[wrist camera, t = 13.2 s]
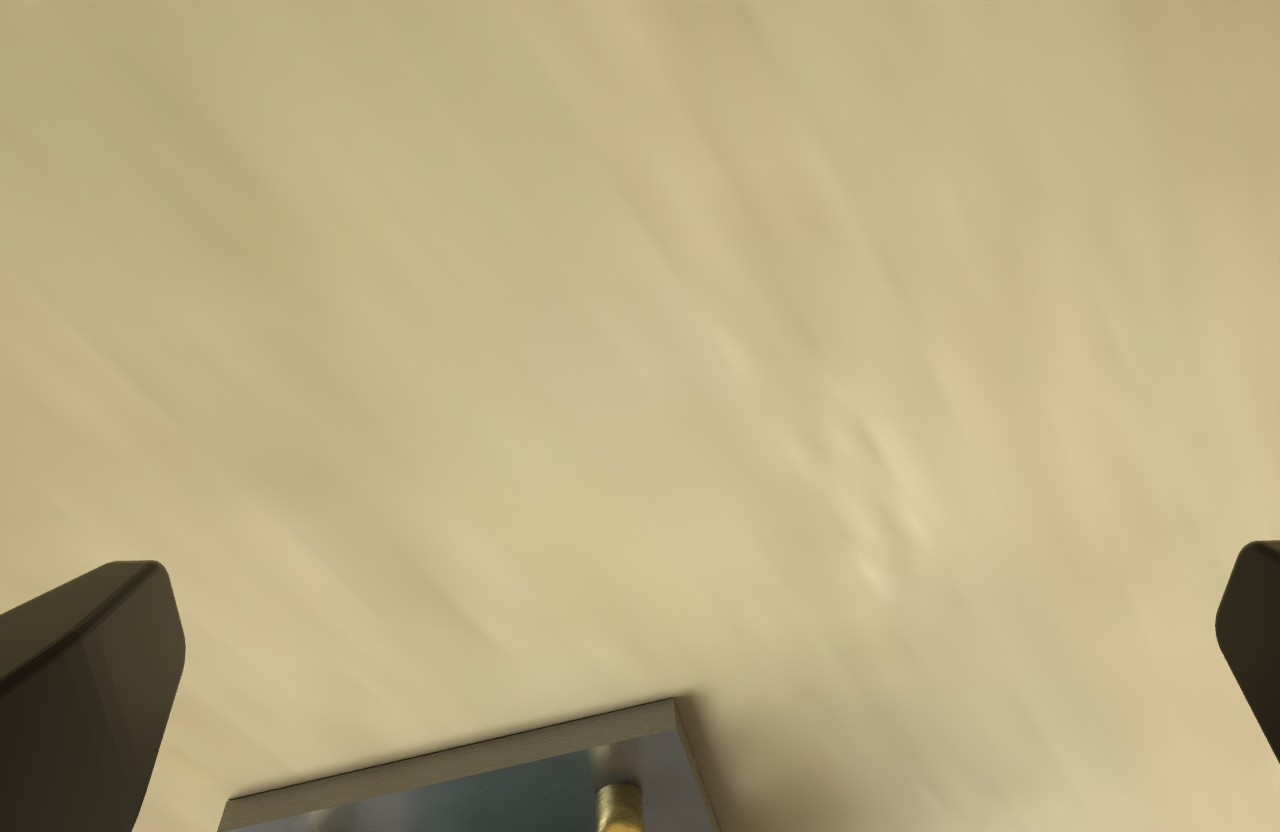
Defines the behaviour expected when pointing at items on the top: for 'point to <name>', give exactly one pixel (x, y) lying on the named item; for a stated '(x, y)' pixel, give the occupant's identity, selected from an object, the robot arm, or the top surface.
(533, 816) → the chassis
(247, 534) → the top surface
